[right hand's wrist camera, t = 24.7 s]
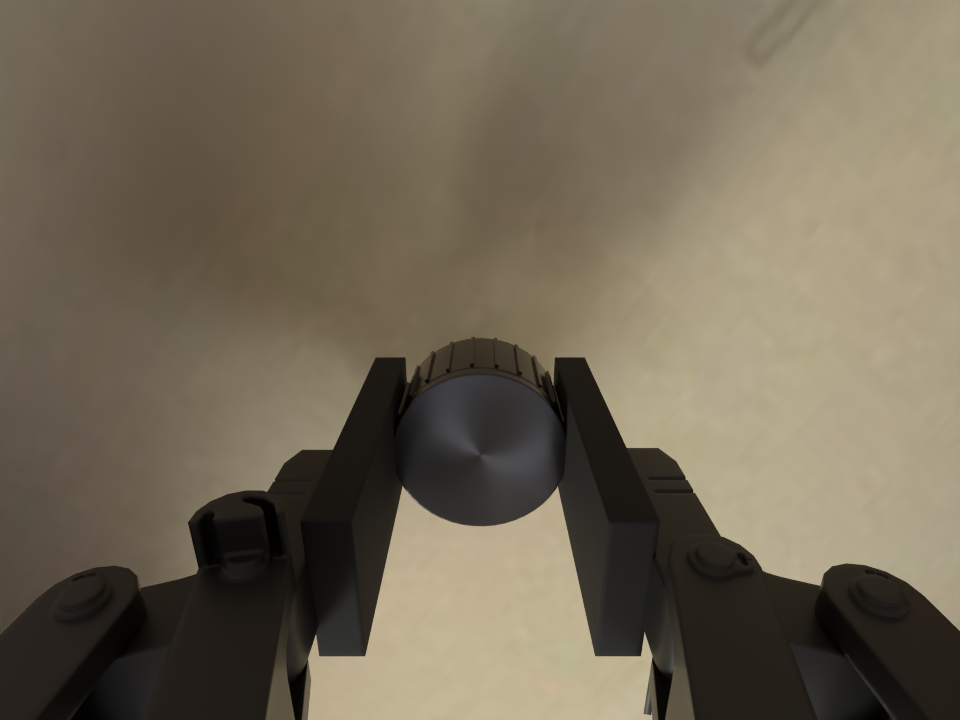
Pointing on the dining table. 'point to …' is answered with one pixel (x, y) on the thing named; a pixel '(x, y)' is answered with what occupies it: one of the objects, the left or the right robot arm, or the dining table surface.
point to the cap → (480, 433)
